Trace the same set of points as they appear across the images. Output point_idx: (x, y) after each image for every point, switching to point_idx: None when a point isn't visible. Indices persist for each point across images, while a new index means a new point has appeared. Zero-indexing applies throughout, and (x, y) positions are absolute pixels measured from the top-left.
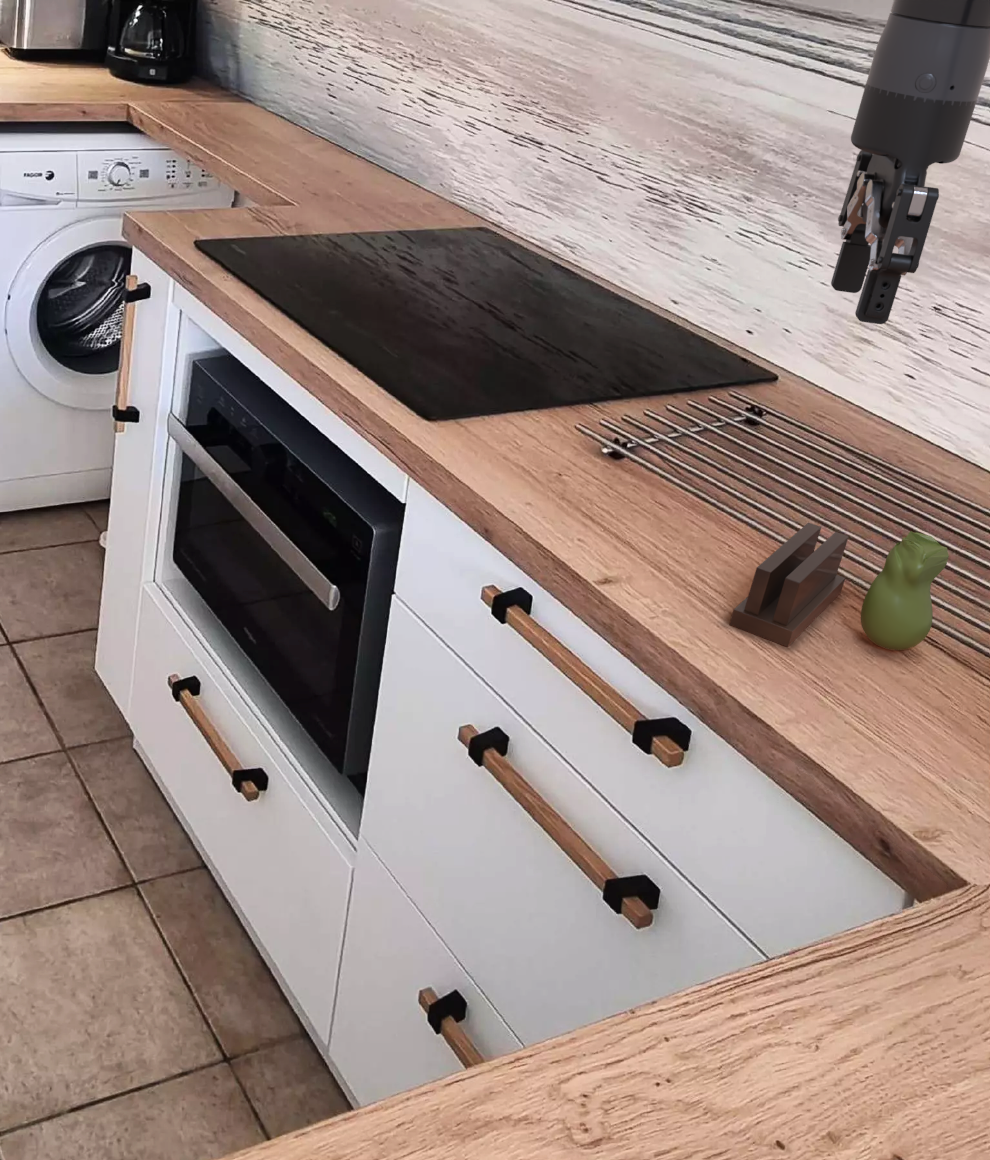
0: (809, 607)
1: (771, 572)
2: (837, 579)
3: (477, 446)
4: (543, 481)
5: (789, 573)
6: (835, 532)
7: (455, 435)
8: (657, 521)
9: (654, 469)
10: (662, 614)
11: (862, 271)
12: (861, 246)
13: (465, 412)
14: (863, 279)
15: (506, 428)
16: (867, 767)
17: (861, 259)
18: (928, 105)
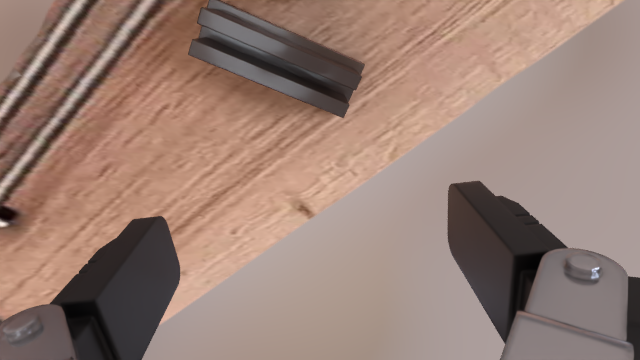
0: (304, 44)
1: (346, 103)
2: (219, 7)
3: None
4: None
5: (276, 69)
6: (200, 23)
7: None
8: (148, 173)
9: (12, 178)
10: (344, 166)
11: (139, 254)
12: (109, 334)
13: None
14: (148, 233)
15: (19, 304)
16: (552, 9)
17: (128, 290)
18: None
